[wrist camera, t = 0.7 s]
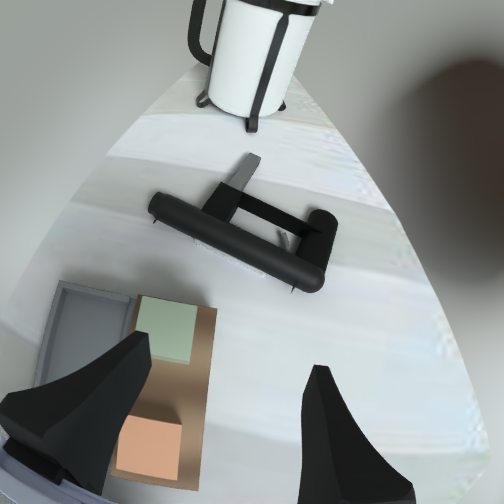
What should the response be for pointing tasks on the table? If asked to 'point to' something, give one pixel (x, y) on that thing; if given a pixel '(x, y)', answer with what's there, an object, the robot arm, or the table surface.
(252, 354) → the table surface
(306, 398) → the robot arm
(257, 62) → the coffee press
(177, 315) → the sage tile
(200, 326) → the walnut ledge
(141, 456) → the terracotta block
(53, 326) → the charcoal tray
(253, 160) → the door handle
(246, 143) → the table surface
